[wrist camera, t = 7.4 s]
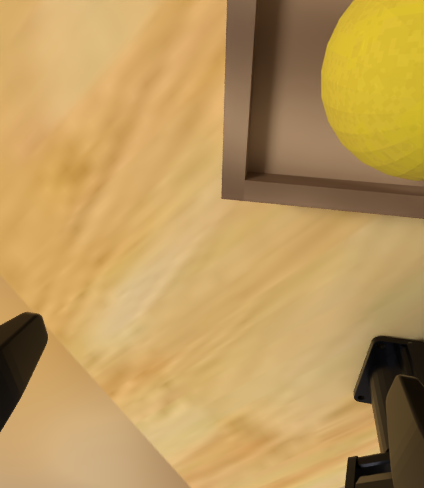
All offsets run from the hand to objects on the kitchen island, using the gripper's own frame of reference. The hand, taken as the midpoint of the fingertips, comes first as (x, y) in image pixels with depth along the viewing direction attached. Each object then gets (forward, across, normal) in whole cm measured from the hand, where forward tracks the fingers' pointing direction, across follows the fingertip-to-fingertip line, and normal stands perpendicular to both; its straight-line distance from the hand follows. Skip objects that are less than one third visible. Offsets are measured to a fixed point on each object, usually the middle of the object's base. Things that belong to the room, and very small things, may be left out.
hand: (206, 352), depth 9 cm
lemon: (+10, -5, -6) cm, 13 cm away
